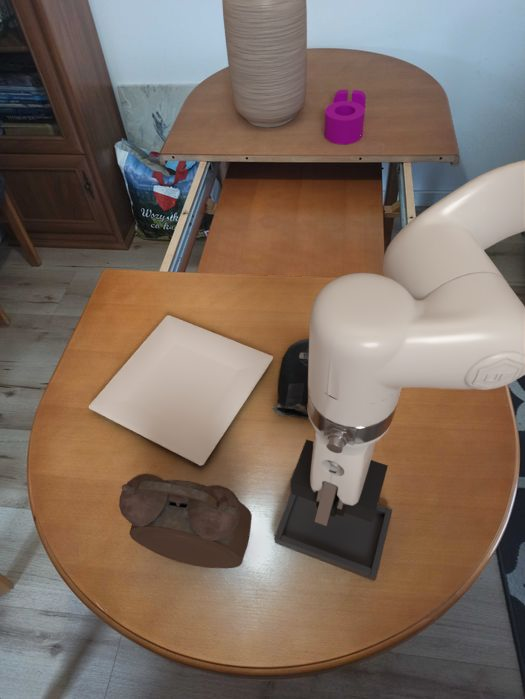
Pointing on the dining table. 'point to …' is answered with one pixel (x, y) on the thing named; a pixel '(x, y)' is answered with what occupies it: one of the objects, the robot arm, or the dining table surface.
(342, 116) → the magenta ring with prongs
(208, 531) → the alarm clock
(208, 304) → the dining table surface
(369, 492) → the black rectangular block
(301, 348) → the electronic device
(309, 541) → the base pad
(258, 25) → the vase
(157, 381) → the plate
